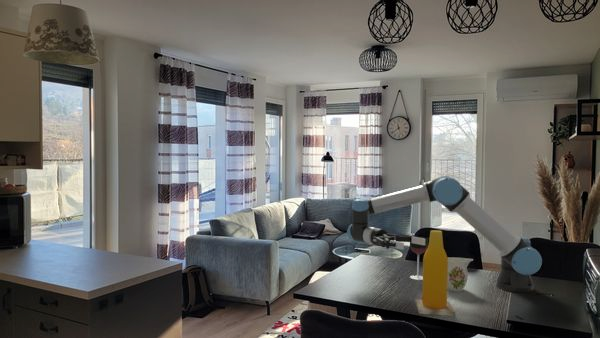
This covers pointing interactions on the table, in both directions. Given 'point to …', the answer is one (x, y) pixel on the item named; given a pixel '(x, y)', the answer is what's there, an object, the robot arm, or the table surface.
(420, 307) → the birch board
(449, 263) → the pitcher
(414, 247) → the wineglass
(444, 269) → the beer bottle
